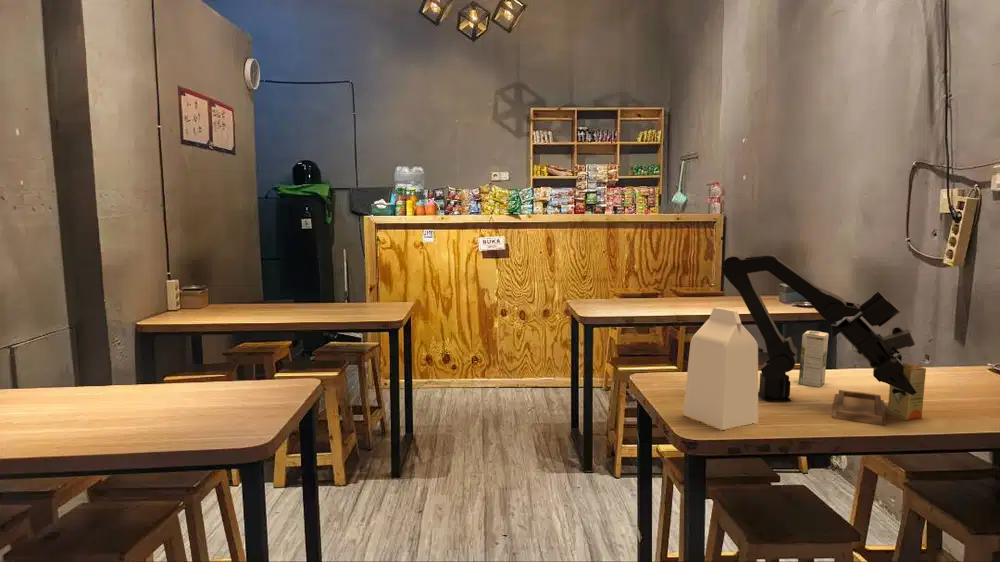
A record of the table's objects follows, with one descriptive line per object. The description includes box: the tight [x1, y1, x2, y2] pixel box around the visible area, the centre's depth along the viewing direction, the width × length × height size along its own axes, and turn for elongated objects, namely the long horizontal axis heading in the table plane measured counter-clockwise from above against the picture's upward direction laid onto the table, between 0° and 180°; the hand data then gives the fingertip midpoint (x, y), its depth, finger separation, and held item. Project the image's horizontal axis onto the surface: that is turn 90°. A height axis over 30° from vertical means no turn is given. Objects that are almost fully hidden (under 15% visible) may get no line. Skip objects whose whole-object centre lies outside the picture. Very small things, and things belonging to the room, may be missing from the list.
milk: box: [682, 306, 759, 429], centre depth 152 cm, size 12×12×26 cm
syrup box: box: [798, 330, 830, 388], centre depth 183 cm, size 6×6×14 cm
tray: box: [831, 389, 887, 426], centre depth 161 cm, size 11×20×2 cm, turn 151°
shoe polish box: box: [887, 363, 927, 421], centre depth 156 cm, size 5×5×12 cm
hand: (913, 389), depth 155 cm, fingers closed on shoe polish box, 7 cm apart
